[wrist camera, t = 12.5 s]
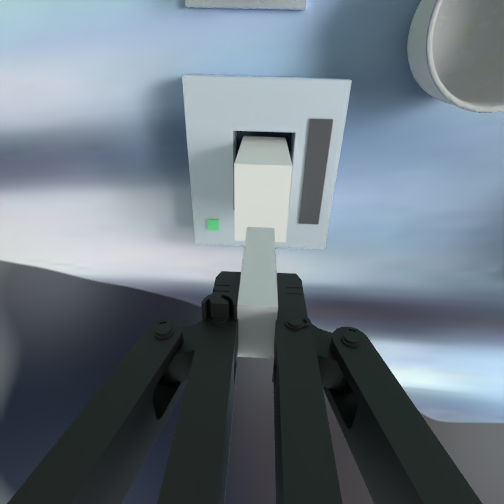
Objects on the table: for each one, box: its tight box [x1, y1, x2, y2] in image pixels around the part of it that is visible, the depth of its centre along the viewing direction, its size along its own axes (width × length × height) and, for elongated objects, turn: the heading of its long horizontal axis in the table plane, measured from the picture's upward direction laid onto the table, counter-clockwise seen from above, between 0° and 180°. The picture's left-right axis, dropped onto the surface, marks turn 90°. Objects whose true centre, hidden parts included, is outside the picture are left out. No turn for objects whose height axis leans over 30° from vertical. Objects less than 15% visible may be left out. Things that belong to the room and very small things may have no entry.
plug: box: [234, 136, 292, 242], centre depth 29 cm, size 4×6×12 cm, turn 179°
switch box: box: [182, 74, 352, 249], centre depth 32 cm, size 14×16×4 cm
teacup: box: [407, 0, 504, 113], centre depth 23 cm, size 14×11×8 cm
